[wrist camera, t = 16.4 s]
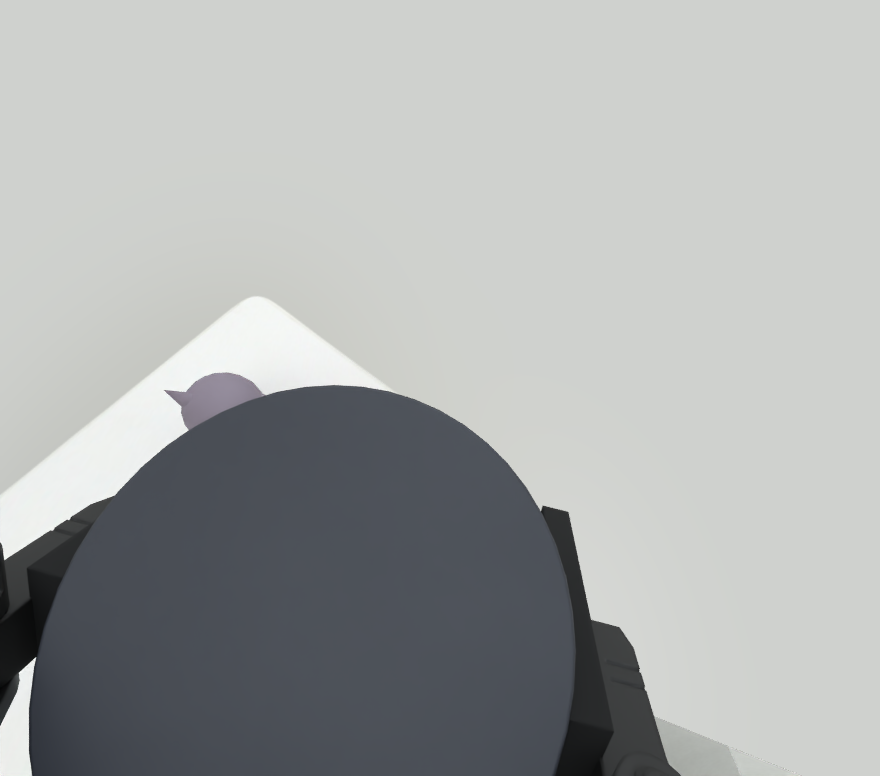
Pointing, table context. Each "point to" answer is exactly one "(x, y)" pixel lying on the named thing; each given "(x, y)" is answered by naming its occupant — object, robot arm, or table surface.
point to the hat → (311, 606)
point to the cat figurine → (213, 396)
